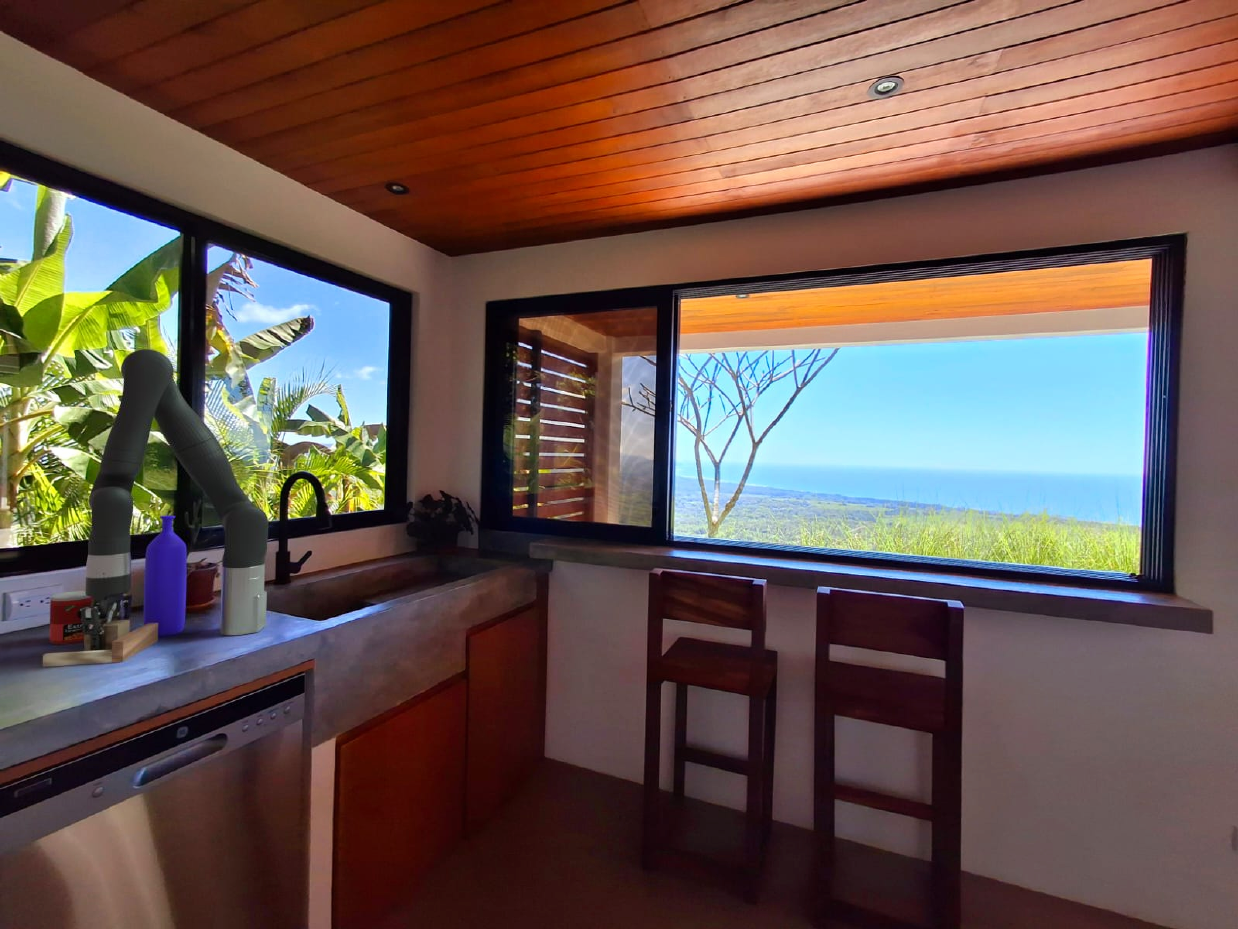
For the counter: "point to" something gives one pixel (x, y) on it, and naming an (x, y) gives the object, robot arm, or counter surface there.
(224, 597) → the robot arm
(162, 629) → the bottle
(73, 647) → the counter surface
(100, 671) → the counter surface
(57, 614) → the canned food
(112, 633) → the block
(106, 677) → the counter surface
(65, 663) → the channel
